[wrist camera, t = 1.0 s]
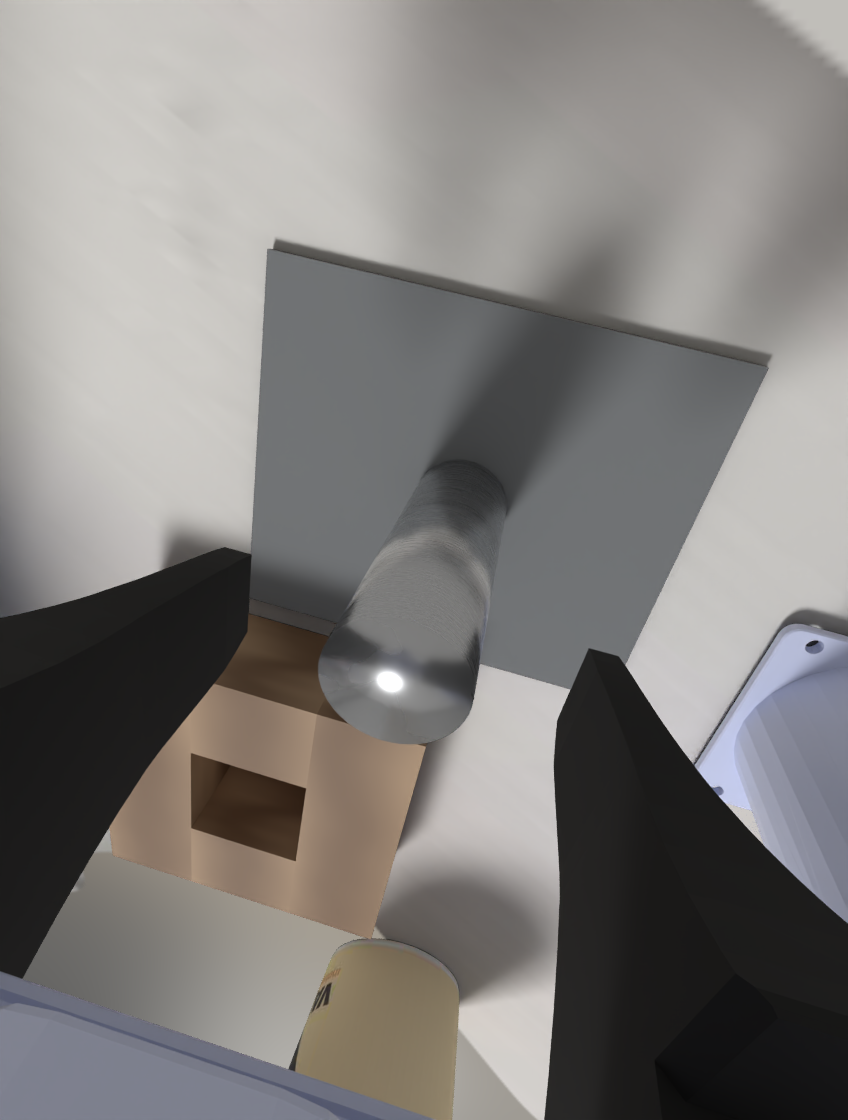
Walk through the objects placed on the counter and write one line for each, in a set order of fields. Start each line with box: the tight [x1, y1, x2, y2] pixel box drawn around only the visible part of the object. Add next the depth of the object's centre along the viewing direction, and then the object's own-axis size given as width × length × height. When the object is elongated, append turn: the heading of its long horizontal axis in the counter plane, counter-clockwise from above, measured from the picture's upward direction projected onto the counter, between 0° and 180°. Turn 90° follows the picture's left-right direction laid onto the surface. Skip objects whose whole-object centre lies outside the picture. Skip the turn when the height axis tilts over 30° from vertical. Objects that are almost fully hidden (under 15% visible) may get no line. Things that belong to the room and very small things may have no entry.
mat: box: [249, 249, 769, 689], centre depth 19 cm, size 14×12×1 cm
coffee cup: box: [289, 938, 459, 1120], centre depth 28 cm, size 9×9×12 cm
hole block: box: [109, 614, 427, 939], centre depth 24 cm, size 12×12×4 cm
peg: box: [318, 459, 507, 744], centre depth 15 cm, size 3×3×9 cm
